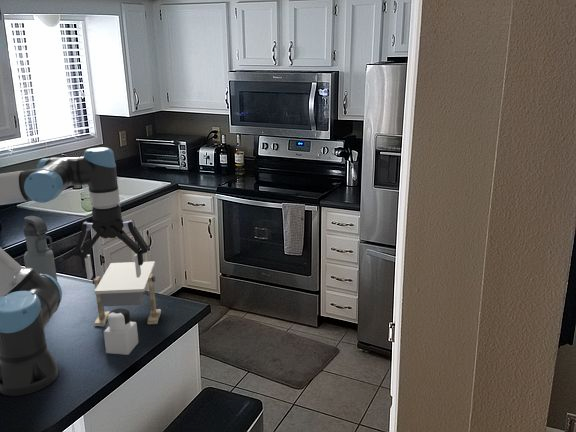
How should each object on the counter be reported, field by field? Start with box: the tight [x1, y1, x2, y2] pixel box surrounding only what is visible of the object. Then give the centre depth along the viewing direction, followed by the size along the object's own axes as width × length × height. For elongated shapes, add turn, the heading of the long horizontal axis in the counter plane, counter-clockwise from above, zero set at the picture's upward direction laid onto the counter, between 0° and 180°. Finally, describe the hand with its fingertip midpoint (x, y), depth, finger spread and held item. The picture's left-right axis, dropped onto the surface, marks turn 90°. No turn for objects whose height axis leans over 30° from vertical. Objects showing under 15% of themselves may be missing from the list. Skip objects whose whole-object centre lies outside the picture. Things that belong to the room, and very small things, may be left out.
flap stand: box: [91, 273, 162, 327], centre depth 177 cm, size 8×20×15 cm, turn 94°
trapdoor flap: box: [94, 260, 156, 307], centre depth 179 cm, size 21×15×5 cm
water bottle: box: [22, 215, 58, 282], centre depth 198 cm, size 10×10×28 cm
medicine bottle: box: [103, 308, 139, 356], centre depth 160 cm, size 7×7×12 cm
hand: (114, 276), depth 155 cm, fingers open, 13 cm apart
